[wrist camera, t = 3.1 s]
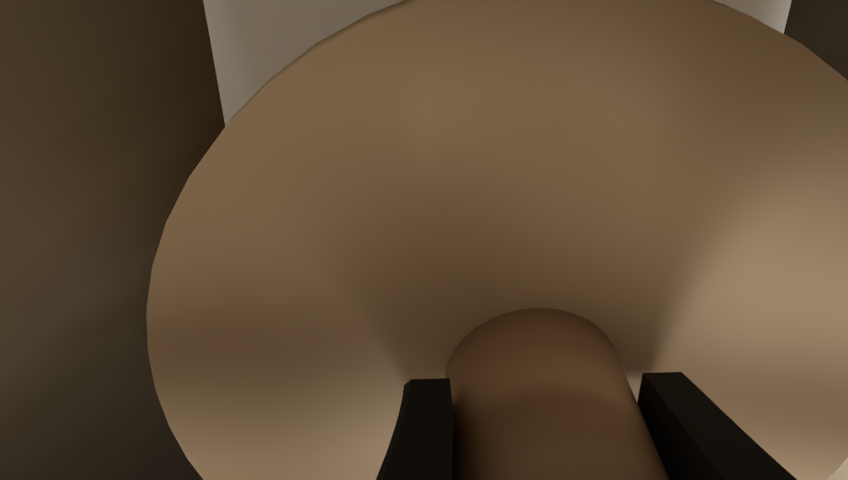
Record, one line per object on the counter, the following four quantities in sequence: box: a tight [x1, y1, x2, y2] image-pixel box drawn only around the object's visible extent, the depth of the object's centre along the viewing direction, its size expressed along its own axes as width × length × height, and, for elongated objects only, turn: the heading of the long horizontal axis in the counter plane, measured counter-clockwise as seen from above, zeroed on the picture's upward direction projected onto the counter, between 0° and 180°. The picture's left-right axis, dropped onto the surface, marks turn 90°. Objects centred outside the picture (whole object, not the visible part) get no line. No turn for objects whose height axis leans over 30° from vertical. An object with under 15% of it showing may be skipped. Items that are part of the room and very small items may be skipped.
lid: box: [146, 0, 848, 480], centre depth 10 cm, size 13×13×5 cm
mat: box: [203, 0, 792, 127], centre depth 17 cm, size 13×13×1 cm
